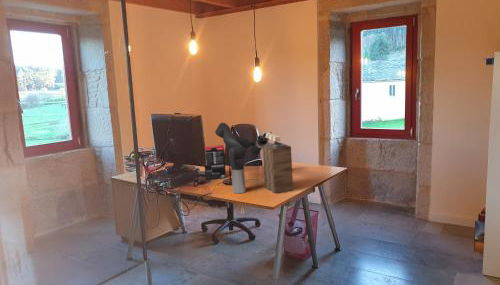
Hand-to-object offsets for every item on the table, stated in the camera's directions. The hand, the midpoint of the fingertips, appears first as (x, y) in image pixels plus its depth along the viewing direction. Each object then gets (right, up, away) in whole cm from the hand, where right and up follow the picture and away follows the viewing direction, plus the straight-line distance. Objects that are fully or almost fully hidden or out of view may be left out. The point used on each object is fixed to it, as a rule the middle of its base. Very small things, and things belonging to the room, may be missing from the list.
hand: (268, 133), depth 283 cm
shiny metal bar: (+2, -3, -4) cm, 5 cm away
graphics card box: (-42, -36, +34) cm, 65 cm away
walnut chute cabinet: (+7, -40, -6) cm, 41 cm away
